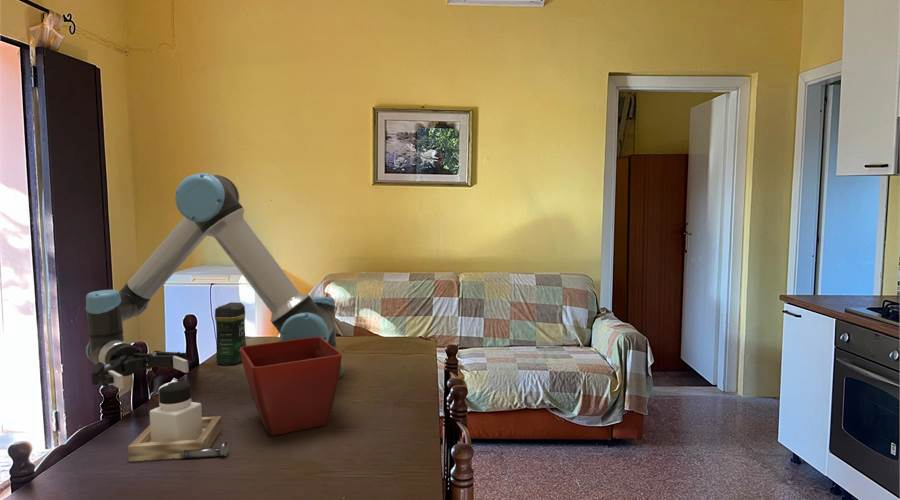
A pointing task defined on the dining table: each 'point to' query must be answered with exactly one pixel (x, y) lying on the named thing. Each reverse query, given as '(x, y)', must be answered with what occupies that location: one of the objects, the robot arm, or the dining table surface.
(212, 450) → the pin
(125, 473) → the dining table surface
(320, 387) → the plant pot
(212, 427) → the wooden tray
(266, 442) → the dining table surface
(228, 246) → the robot arm
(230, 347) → the coffee jar
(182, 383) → the medicine bottle
